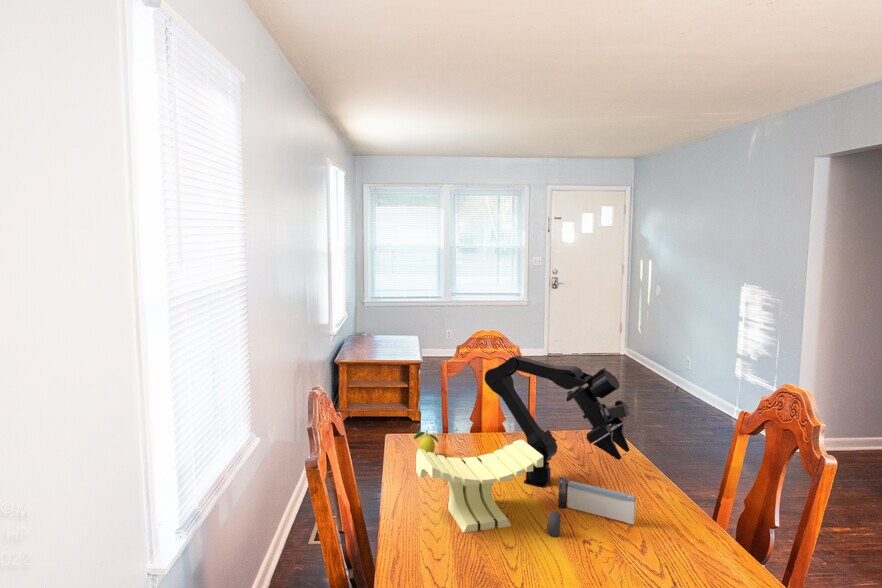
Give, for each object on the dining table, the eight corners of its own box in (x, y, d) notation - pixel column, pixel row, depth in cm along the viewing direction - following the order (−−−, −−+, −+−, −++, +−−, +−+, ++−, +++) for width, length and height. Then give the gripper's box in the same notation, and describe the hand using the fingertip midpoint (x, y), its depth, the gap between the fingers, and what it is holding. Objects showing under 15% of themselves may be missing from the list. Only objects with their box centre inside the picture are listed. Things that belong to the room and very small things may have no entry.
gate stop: (546, 534, 142) (546, 515, 142) (550, 529, 145) (550, 510, 144) (557, 538, 141) (558, 518, 140) (561, 532, 143) (562, 513, 143)
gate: (567, 507, 156) (568, 483, 155) (569, 505, 158) (570, 480, 157) (633, 524, 147) (634, 498, 147) (634, 521, 149) (635, 495, 148)
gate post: (556, 507, 157) (557, 479, 157) (559, 503, 159) (560, 476, 159) (565, 509, 156) (566, 481, 155) (568, 506, 158) (569, 478, 157)
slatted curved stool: (516, 496, 164) (518, 436, 162) (541, 522, 149) (543, 456, 147) (415, 508, 155) (416, 444, 154) (431, 537, 140) (432, 467, 139)
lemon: (413, 458, 191) (413, 429, 190) (422, 453, 196) (423, 425, 195) (429, 462, 188) (430, 433, 187) (439, 457, 193) (439, 428, 192)
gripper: (604, 396, 151) (640, 448, 146) (622, 387, 167) (655, 433, 162) (571, 417, 156) (606, 468, 151) (592, 406, 171) (623, 452, 166)
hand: (624, 455), depth 157 cm, fingers open, 9 cm apart
